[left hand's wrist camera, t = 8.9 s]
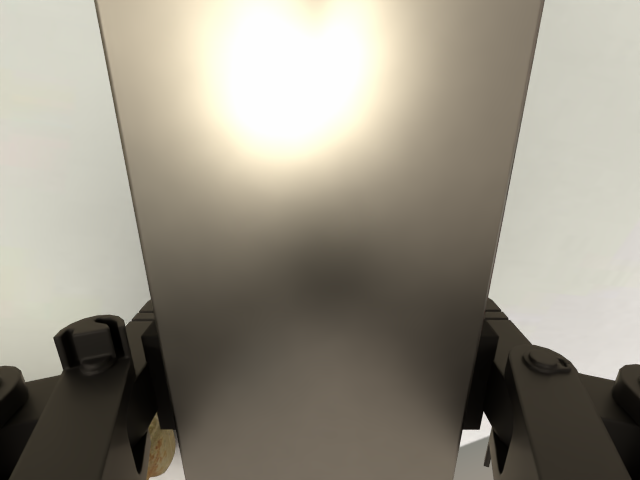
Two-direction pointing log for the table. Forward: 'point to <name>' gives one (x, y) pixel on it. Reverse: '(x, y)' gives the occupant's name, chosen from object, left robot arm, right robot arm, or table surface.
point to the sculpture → (160, 449)
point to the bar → (319, 219)
